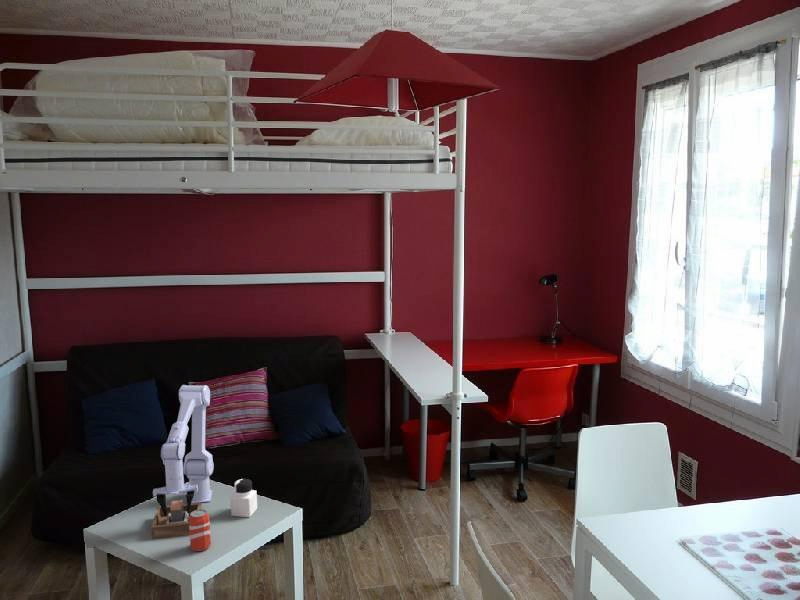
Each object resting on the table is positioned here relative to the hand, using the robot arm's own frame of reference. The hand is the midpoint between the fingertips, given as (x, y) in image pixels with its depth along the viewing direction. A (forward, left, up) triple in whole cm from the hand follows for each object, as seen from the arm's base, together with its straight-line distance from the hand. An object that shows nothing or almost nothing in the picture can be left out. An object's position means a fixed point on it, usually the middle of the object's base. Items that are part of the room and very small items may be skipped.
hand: (177, 513), depth 230 cm
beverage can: (+17, +9, -5) cm, 20 cm away
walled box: (0, 0, -5) cm, 5 cm away
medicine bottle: (-5, +22, -5) cm, 23 cm away
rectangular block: (0, 0, -4) cm, 4 cm away
